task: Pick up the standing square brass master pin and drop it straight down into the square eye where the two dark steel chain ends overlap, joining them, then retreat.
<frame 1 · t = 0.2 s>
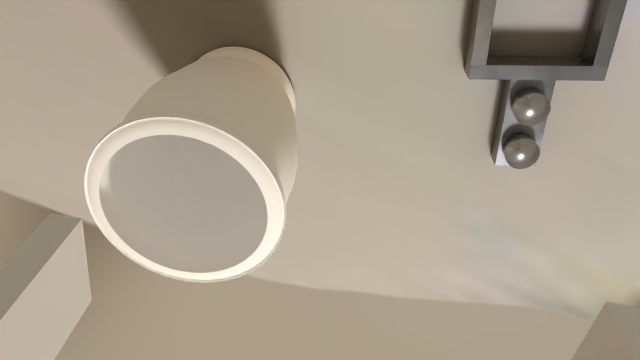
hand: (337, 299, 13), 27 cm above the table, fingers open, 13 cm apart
jar: (241, 97, 39), on the table
chain ends: (541, 5, 34), on the table
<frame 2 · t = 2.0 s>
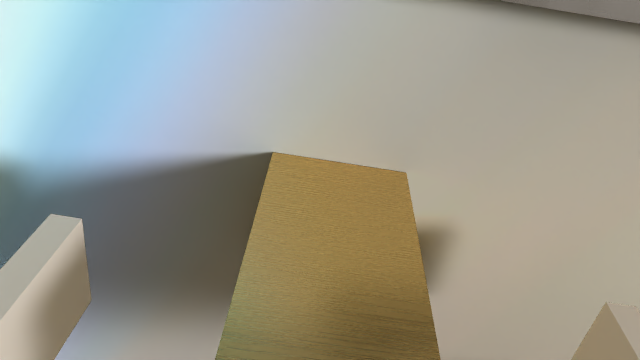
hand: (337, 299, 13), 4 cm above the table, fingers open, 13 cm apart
master pin: (329, 217, 16), on the table
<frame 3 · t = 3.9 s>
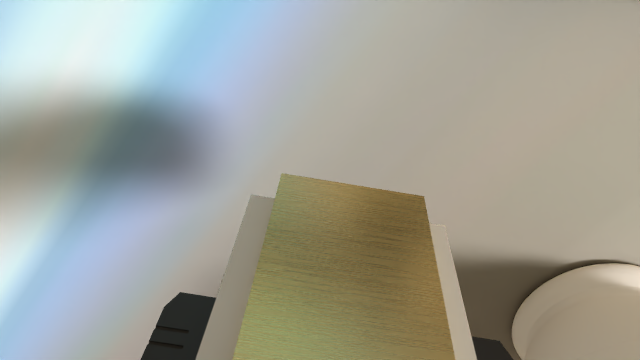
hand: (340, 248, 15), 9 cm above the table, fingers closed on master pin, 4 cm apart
jar: (591, 318, 27), on the table
master pin: (340, 241, 15), point 9 cm above the table, touching gripper
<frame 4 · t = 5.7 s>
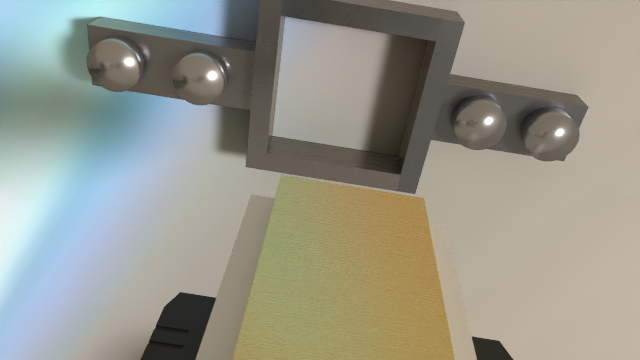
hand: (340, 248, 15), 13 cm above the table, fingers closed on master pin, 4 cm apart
chain ends: (346, 86, 26), on the table
master pin: (340, 243, 15), point 13 cm above the table, touching gripper
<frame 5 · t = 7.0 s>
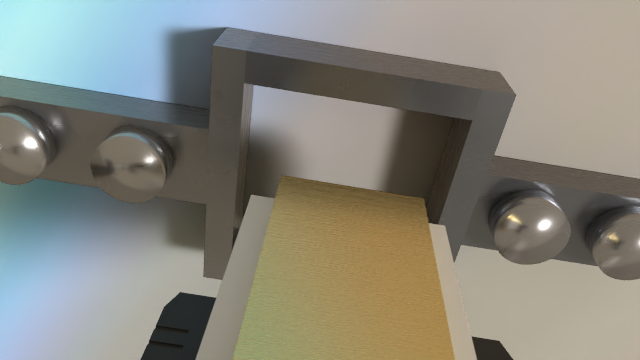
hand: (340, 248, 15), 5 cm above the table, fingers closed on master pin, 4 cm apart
chain ends: (341, 168, 19), on the table
master pin: (340, 243, 15), point 4 cm above the table, touching gripper
when the fingers open (4 cm above the table, at t = 7.9 s): master pin drops 3 cm, resting in chain ends.
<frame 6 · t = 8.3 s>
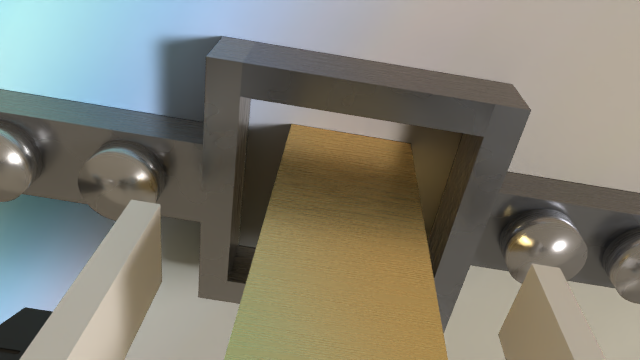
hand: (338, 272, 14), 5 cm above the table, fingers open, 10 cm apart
chain ends: (343, 183, 18), on the table
master pin: (341, 184, 18), resting in chain ends
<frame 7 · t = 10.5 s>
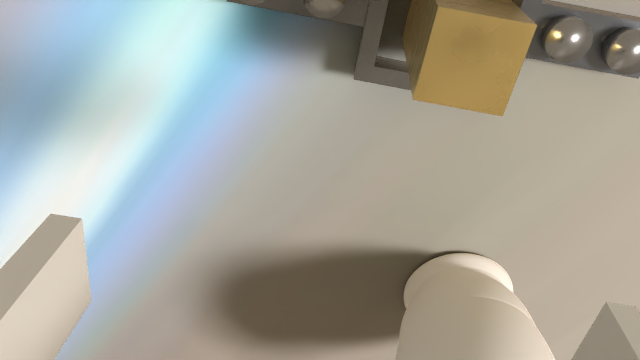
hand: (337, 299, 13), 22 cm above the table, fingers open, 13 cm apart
jar: (456, 290, 41), on the table
chain ends: (445, 9, 30), on the table
master pin: (444, 9, 30), resting in chain ends
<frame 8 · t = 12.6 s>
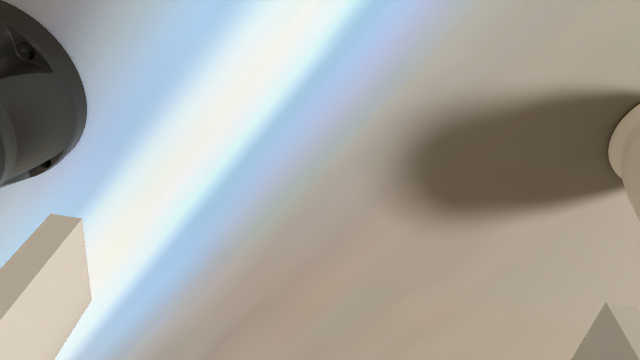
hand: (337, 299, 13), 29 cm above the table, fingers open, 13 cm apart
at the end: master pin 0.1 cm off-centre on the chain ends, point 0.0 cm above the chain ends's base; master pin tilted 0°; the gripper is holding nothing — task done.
